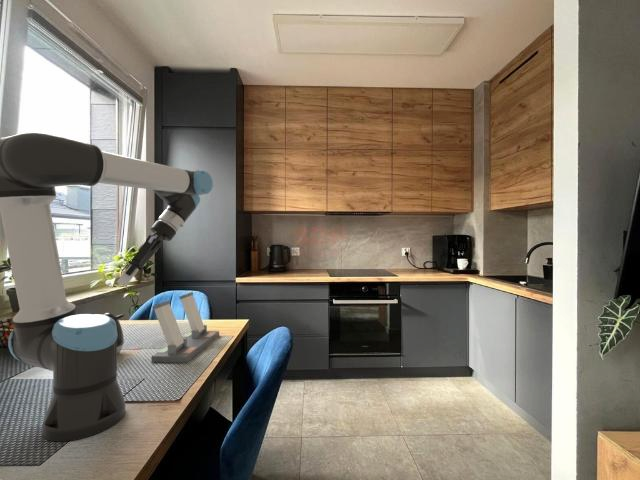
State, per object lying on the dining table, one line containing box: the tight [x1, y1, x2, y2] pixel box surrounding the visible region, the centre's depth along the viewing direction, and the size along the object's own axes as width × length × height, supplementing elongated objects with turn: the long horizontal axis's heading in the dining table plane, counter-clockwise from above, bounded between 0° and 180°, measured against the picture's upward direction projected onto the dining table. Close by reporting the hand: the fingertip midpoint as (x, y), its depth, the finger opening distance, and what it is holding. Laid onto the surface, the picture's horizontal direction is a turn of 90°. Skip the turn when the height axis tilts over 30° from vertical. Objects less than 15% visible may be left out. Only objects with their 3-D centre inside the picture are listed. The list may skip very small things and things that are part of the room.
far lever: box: [178, 291, 205, 335], centre depth 131 cm, size 3×6×18 cm, turn 177°
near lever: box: [152, 300, 184, 351], centre depth 113 cm, size 3×6×18 cm, turn 177°
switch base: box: [151, 324, 220, 364], centre depth 122 cm, size 12×30×5 cm, turn 177°
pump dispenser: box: [101, 312, 126, 354], centre depth 114 cm, size 10×10×15 cm
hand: (121, 284), depth 100 cm, fingers closed
